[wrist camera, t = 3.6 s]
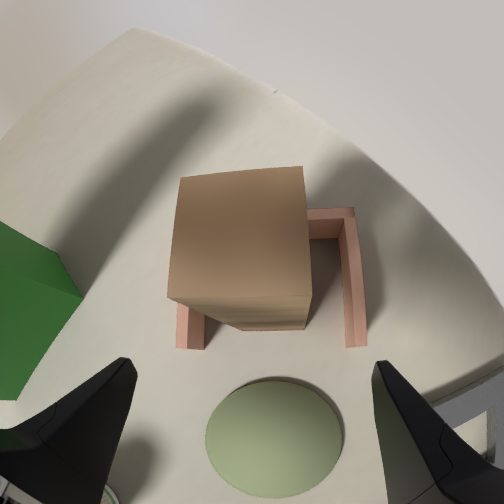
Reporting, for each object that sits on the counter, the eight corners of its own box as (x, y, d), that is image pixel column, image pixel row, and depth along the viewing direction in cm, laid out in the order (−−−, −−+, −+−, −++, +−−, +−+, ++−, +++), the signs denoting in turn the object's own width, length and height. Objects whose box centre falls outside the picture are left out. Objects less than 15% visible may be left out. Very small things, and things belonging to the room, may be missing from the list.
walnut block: (304, 329, 20) (312, 294, 8) (243, 331, 21) (167, 297, 9) (302, 270, 22) (302, 166, 10) (243, 272, 23) (180, 177, 10)
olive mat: (220, 499, 16) (218, 501, 16) (196, 389, 20) (194, 390, 20) (347, 484, 15) (348, 486, 15) (329, 368, 19) (330, 368, 19)
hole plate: (404, 519, 13) (409, 526, 11) (398, 415, 17) (404, 419, 15) (504, 466, 12) (512, 469, 10) (503, 365, 16) (512, 365, 14)
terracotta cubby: (356, 346, 19) (367, 345, 16) (194, 349, 21) (175, 347, 18) (346, 228, 22) (353, 207, 19) (200, 236, 24) (185, 217, 21)
